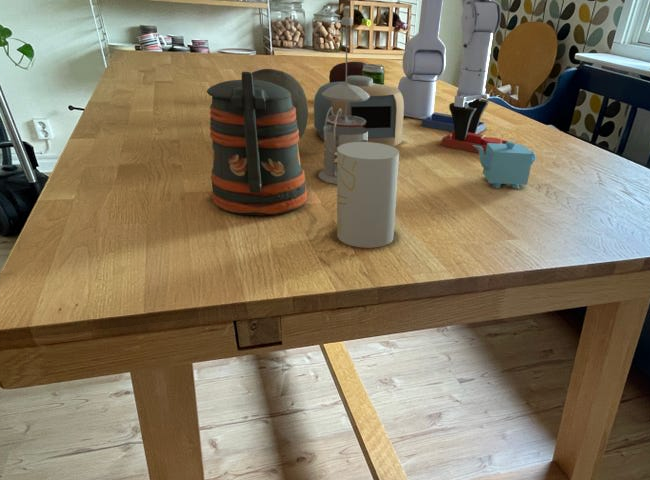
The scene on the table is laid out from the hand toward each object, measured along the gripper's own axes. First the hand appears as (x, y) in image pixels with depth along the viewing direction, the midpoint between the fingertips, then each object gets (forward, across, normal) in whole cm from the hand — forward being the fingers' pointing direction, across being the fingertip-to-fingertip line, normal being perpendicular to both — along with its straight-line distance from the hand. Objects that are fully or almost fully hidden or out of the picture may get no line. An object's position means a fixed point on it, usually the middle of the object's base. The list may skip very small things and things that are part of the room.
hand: (465, 136), depth 124 cm
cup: (+2, -58, -6) cm, 58 cm away
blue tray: (+2, +14, +8) cm, 16 cm away
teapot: (+2, -22, -15) cm, 27 cm away
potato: (+2, +21, +41) cm, 46 cm away
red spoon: (+1, 0, -3) cm, 3 cm away
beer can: (+2, +8, +28) cm, 29 cm away
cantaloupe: (+2, -33, +28) cm, 43 cm away
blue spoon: (+1, +14, +8) cm, 16 cm away
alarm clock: (+2, -10, +22) cm, 24 cm away
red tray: (+2, 0, -3) cm, 3 cm away
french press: (+2, -37, +10) cm, 38 cm away
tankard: (+2, -57, +13) cm, 58 cm away
